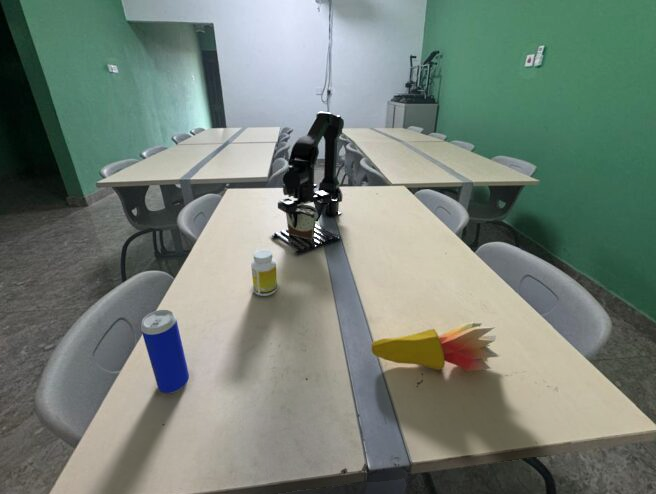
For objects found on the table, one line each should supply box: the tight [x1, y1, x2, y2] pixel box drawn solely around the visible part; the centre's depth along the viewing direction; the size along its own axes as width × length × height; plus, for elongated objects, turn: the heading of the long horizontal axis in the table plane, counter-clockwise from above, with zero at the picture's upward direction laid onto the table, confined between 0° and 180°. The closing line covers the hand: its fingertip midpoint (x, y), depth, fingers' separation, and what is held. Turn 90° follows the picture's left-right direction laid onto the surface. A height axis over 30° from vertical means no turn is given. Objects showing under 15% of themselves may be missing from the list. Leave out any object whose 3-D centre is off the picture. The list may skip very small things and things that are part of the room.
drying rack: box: [271, 223, 341, 256], centre depth 112 cm, size 18×16×2 cm
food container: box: [283, 204, 318, 241], centre depth 110 cm, size 12×6×10 cm, turn 66°
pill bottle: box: [250, 249, 278, 297], centre depth 82 cm, size 6×6×11 cm
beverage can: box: [140, 309, 190, 394], centre depth 55 cm, size 5×5×15 cm
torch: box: [370, 321, 501, 372], centre depth 63 cm, size 8×8×25 cm
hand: (305, 224), depth 110 cm, fingers open, 9 cm apart
